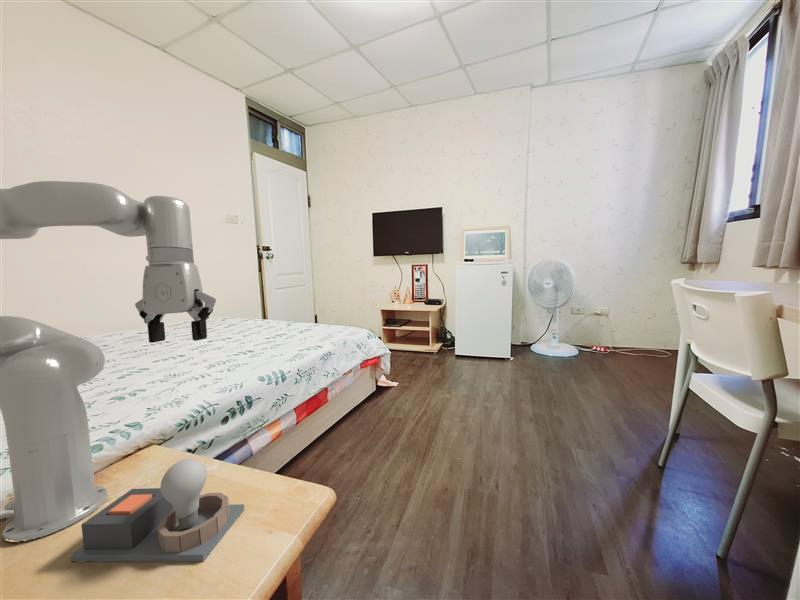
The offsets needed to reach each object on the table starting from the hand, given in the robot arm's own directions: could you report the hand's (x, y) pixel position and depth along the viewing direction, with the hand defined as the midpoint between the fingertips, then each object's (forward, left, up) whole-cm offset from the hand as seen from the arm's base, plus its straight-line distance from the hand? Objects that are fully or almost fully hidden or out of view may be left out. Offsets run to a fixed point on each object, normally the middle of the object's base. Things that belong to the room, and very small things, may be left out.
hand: (178, 340), depth 62 cm
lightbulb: (+11, -14, -29) cm, 34 cm away
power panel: (+7, -14, -30) cm, 34 cm away
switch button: (+1, -14, -29) cm, 32 cm away
